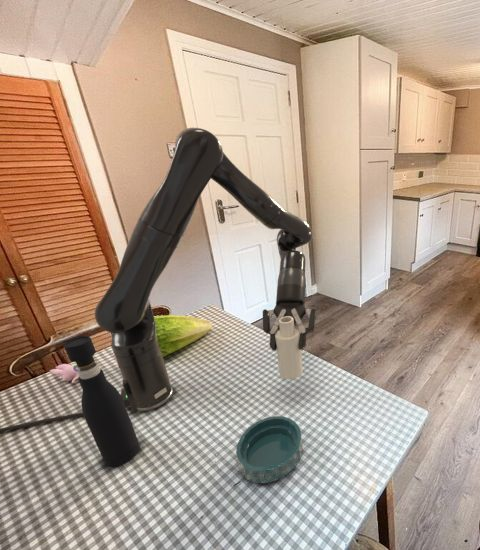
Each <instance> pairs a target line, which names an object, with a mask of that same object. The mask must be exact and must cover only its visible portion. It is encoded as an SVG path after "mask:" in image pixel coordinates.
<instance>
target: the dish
mask: <svg viewBox="0 0 480 550" xmlns="http://www.w3.org/2000/svg"><path fill="white" fill-rule="evenodd" d="M302 439H303V438H302V430H301V428H300V426H299V424H298V423H297V422H295V421H294V420H293V419H292V418H289V417H286V416H279V415H278V416H277V415H273V416H269V417H264V418H262V419H260V420H257V421H256V422H254V423H253V424H251V425H250V426H249V427H248V428H247V429H246V430H245V431H244V432H243V433H242V435H240V438H239V440H238V442H237V444H236V450H235V451H236V452H235V455H236V458H237V463H238V467H239V470H240V474H241V475H242V476H243V477H244V478H245V479H246V480H249V481H250V482H253V483H255V484H269V483H272V482H276V481H278V480H280V479H283V478H284V477H286V476H287V475H288V474H290V472H291V471H293V469H295V467H296V466H297V464H298V463H299V461H300V459H301V457H302V453H303V441H302Z"/></svg>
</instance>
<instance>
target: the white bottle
mask: <svg viewBox="0 0 480 550" xmlns="http://www.w3.org/2000/svg"><path fill="white" fill-rule="evenodd" d="M279 326H280V330H278V331H277V332H276V333H275V339H276V355H277V366H278V371H279V372H278V373H279V377H280V378H282V379H283V380H286V381H287V380H288V381H289V380H294V379H297V378H299V377H300V376H301V375H302V374H303V372H304V370H303V369H304V368H303V356H302V350H300V349H299V342H300V334H301V331H300V329H299V328H297V327H295V325H294V319H293V318H292V317H290V316H285V317H282V318H280V319H279Z"/></svg>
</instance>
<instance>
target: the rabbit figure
mask: <svg viewBox="0 0 480 550" xmlns="http://www.w3.org/2000/svg"><path fill="white" fill-rule="evenodd" d="M77 369H78V367H77V364H74V365H71V364H68V363H62V364H59V365H57V366H55V368H53V369H49V372H50V373H51V374H53V375H55V376H59V377H61V379H62V380H63V381H64V382H71V384H74V383H75V381H76V380H78V378H79V376H78V375H79V374H78V373H77Z"/></svg>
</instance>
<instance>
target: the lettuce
mask: <svg viewBox="0 0 480 550" xmlns="http://www.w3.org/2000/svg"><path fill="white" fill-rule="evenodd" d="M154 320H155V324H156V335H157V339H158V343H159V346H160V349H161V353H162V356H163V358H164V357H166V356H168V355H170V354H173V353H175V352H177V351H179V350H181V349H183V348H185V347H187V346H188V345H190V344H192V343H194V342H196V341H197V340H199V339H201V338H202V337H203V336H205V335H206V334H208V333H209V332H210V331H211V330H212V328H213V325H212V323H211V321H210V320H208V319H204V318H198V317H193V316H190V315H189V316H188V315H181V314H179V315H177V314H163V315H156V316H155V315H154Z"/></svg>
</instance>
